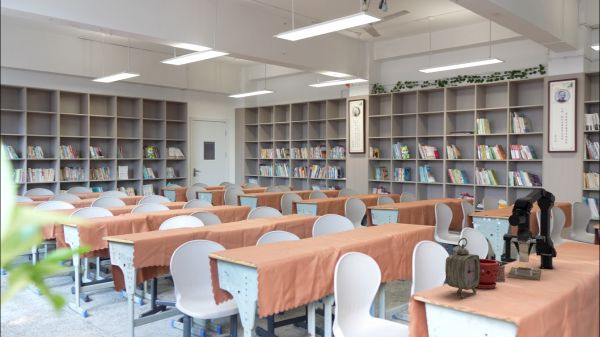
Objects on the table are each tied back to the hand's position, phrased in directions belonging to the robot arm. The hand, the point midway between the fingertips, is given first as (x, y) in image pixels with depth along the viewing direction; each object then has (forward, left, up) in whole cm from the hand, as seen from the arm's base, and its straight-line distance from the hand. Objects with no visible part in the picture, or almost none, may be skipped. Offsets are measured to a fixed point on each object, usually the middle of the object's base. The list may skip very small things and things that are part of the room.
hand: (524, 255), depth 243 cm
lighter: (+16, -11, -11) cm, 22 cm away
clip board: (-3, 0, -10) cm, 11 cm away
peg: (0, 0, -3) cm, 3 cm away
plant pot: (+28, -15, -11) cm, 34 cm away
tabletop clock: (+46, -21, -11) cm, 52 cm away
